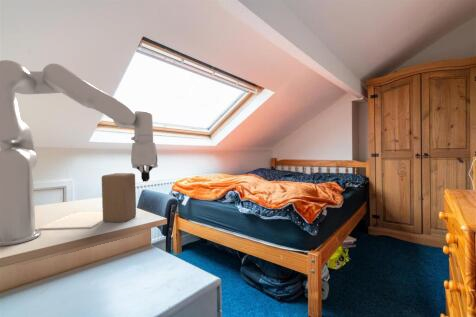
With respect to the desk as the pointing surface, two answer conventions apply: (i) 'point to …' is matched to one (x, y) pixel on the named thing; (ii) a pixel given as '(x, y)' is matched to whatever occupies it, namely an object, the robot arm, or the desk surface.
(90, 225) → the mat
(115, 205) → the block
